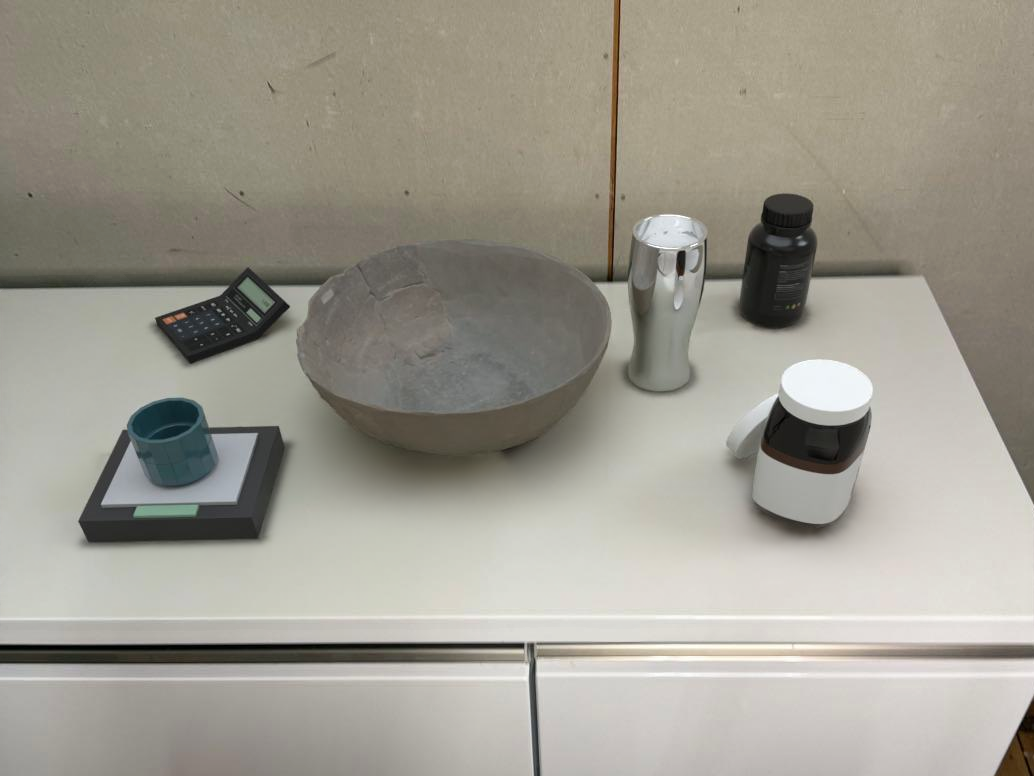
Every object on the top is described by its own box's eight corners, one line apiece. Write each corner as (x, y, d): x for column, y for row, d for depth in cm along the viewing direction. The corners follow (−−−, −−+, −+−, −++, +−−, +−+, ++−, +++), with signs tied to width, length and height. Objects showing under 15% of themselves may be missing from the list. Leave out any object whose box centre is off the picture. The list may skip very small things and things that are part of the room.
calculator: (157, 324, 103) (148, 299, 100) (257, 290, 107) (251, 265, 105) (190, 363, 97) (182, 338, 95) (294, 325, 102) (289, 300, 100)
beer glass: (643, 402, 91) (653, 256, 80) (610, 364, 95) (616, 221, 85) (707, 384, 93) (725, 239, 82) (672, 348, 97) (685, 206, 87)
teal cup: (137, 491, 79) (117, 443, 75) (157, 445, 83) (139, 398, 80) (209, 489, 79) (193, 441, 75) (226, 443, 83) (211, 396, 80)
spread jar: (827, 551, 76) (858, 435, 68) (695, 506, 80) (709, 392, 72) (869, 465, 83) (901, 351, 75) (746, 428, 88) (764, 316, 79)
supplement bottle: (810, 302, 103) (831, 194, 95) (795, 334, 99) (816, 224, 90) (747, 290, 105) (763, 183, 97) (730, 321, 101) (745, 212, 92)
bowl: (372, 314, 103) (358, 227, 96) (627, 338, 99) (631, 248, 92) (270, 478, 84) (243, 384, 77) (580, 517, 79) (582, 420, 72)
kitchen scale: (88, 542, 79) (75, 517, 77) (131, 450, 87) (121, 425, 85) (258, 538, 78) (250, 513, 77) (284, 446, 87) (278, 422, 85)
